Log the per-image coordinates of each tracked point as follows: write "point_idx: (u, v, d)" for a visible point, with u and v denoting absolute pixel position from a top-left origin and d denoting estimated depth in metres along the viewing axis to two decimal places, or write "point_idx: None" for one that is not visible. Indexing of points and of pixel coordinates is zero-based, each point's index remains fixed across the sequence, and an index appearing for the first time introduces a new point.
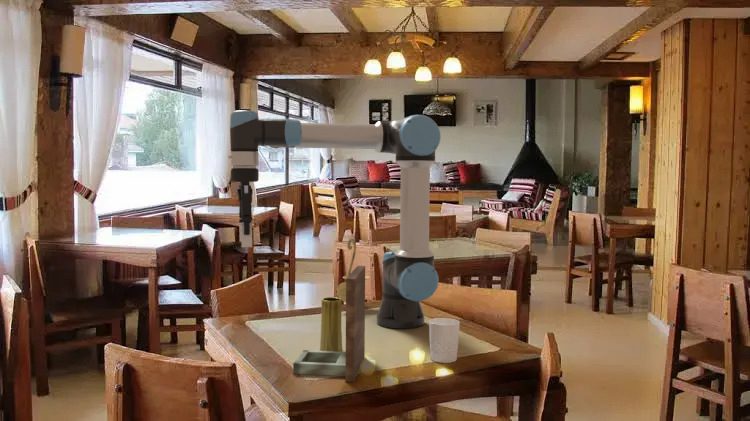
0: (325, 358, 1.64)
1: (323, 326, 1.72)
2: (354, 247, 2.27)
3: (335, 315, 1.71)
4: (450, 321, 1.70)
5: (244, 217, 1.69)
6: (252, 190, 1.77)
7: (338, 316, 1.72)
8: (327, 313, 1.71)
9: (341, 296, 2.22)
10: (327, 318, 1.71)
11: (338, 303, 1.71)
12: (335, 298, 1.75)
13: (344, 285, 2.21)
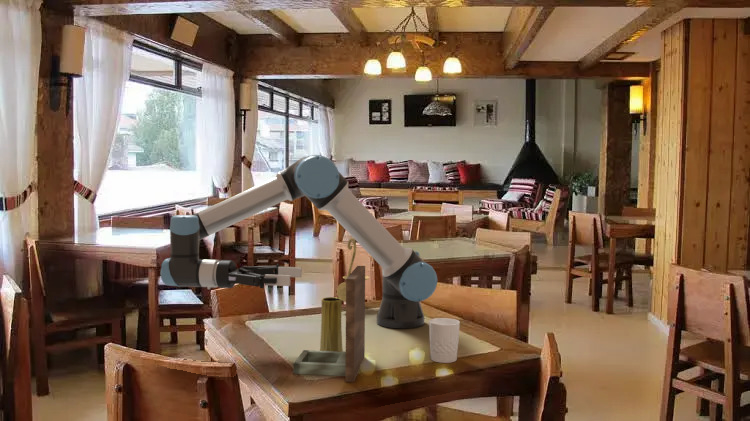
0: (325, 358, 1.64)
1: (323, 326, 1.72)
2: (354, 247, 2.27)
3: (335, 315, 1.71)
4: (450, 321, 1.70)
5: (255, 284, 1.65)
6: (239, 268, 1.73)
7: (338, 316, 1.72)
8: (327, 313, 1.71)
9: (341, 296, 2.22)
10: (327, 318, 1.71)
11: (338, 303, 1.71)
12: (335, 298, 1.75)
13: (344, 285, 2.21)
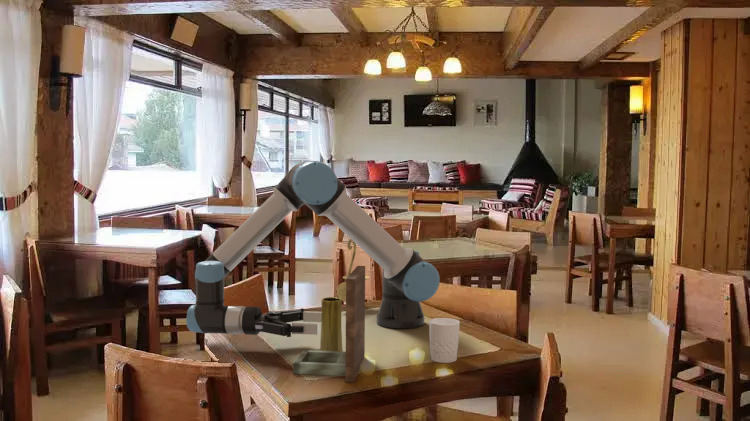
0: (325, 358, 1.64)
1: (323, 326, 1.72)
2: (354, 247, 2.27)
3: (335, 315, 1.71)
4: (450, 321, 1.70)
5: (282, 333, 1.64)
6: (265, 315, 1.73)
7: (338, 316, 1.72)
8: (327, 313, 1.71)
9: (341, 296, 2.22)
10: (327, 318, 1.71)
11: (338, 303, 1.71)
12: (335, 298, 1.75)
13: (344, 285, 2.21)
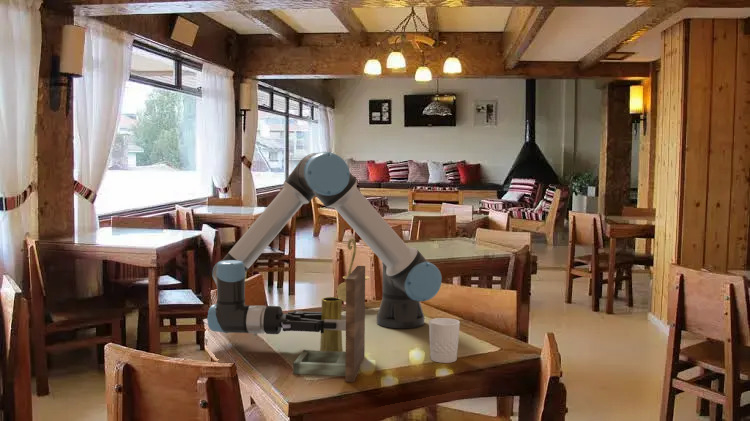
0: (325, 358, 1.64)
1: None
2: (354, 247, 2.27)
3: (335, 315, 1.71)
4: (450, 321, 1.70)
5: (316, 329, 1.68)
6: (288, 315, 1.73)
7: (338, 316, 1.72)
8: (327, 313, 1.71)
9: (341, 296, 2.22)
10: (327, 318, 1.71)
11: (338, 303, 1.71)
12: (335, 298, 1.75)
13: (344, 285, 2.21)
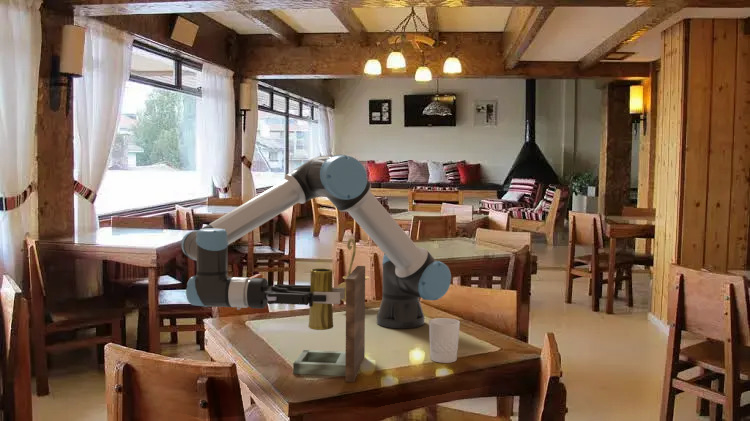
0: (325, 358, 1.64)
1: None
2: (354, 247, 2.28)
3: (325, 287, 1.57)
4: (450, 321, 1.70)
5: (304, 302, 1.53)
6: (273, 287, 1.58)
7: (328, 288, 1.57)
8: (316, 285, 1.56)
9: None
10: (316, 290, 1.56)
11: (328, 274, 1.57)
12: (325, 269, 1.61)
13: (344, 285, 2.21)
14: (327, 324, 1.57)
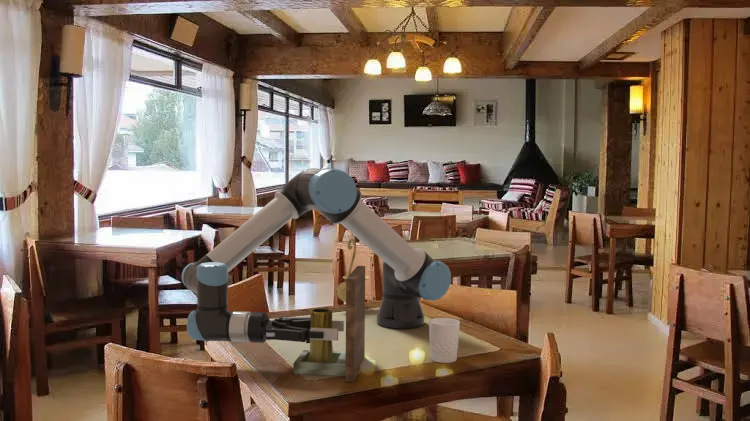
0: None
1: (312, 340, 1.58)
2: (354, 247, 2.27)
3: None
4: (450, 321, 1.70)
5: (301, 339, 1.52)
6: (274, 321, 1.58)
7: None
8: (316, 325, 1.57)
9: (341, 296, 2.22)
10: None
11: (328, 314, 1.58)
12: (325, 309, 1.61)
13: (344, 285, 2.21)
14: None
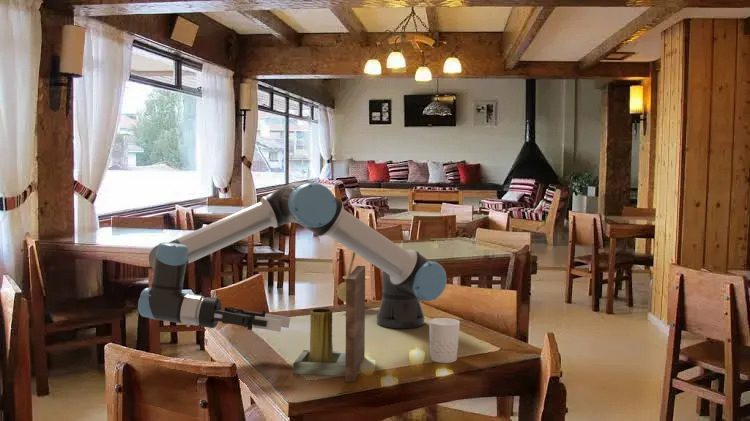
0: None
1: (312, 340, 1.58)
2: None
3: (325, 328, 1.57)
4: (450, 321, 1.70)
5: (244, 324, 1.52)
6: (226, 307, 1.61)
7: (328, 329, 1.58)
8: (316, 326, 1.57)
9: (341, 296, 2.22)
10: (316, 331, 1.57)
11: (328, 314, 1.58)
12: (325, 309, 1.61)
13: (344, 285, 2.21)
14: None
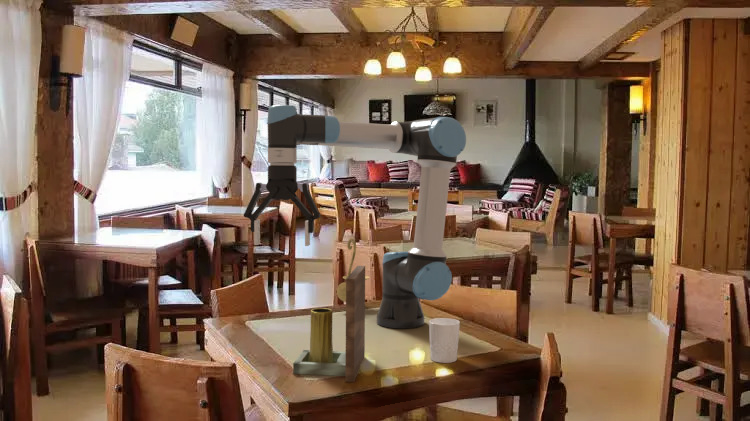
0: None
1: (312, 340, 1.58)
2: (354, 247, 2.27)
3: (325, 328, 1.57)
4: (450, 321, 1.70)
5: (318, 215, 1.69)
6: None
7: (329, 329, 1.58)
8: (316, 326, 1.57)
9: (341, 296, 2.22)
10: (317, 331, 1.57)
11: (328, 314, 1.58)
12: (325, 309, 1.61)
13: (344, 285, 2.21)
14: None
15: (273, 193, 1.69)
